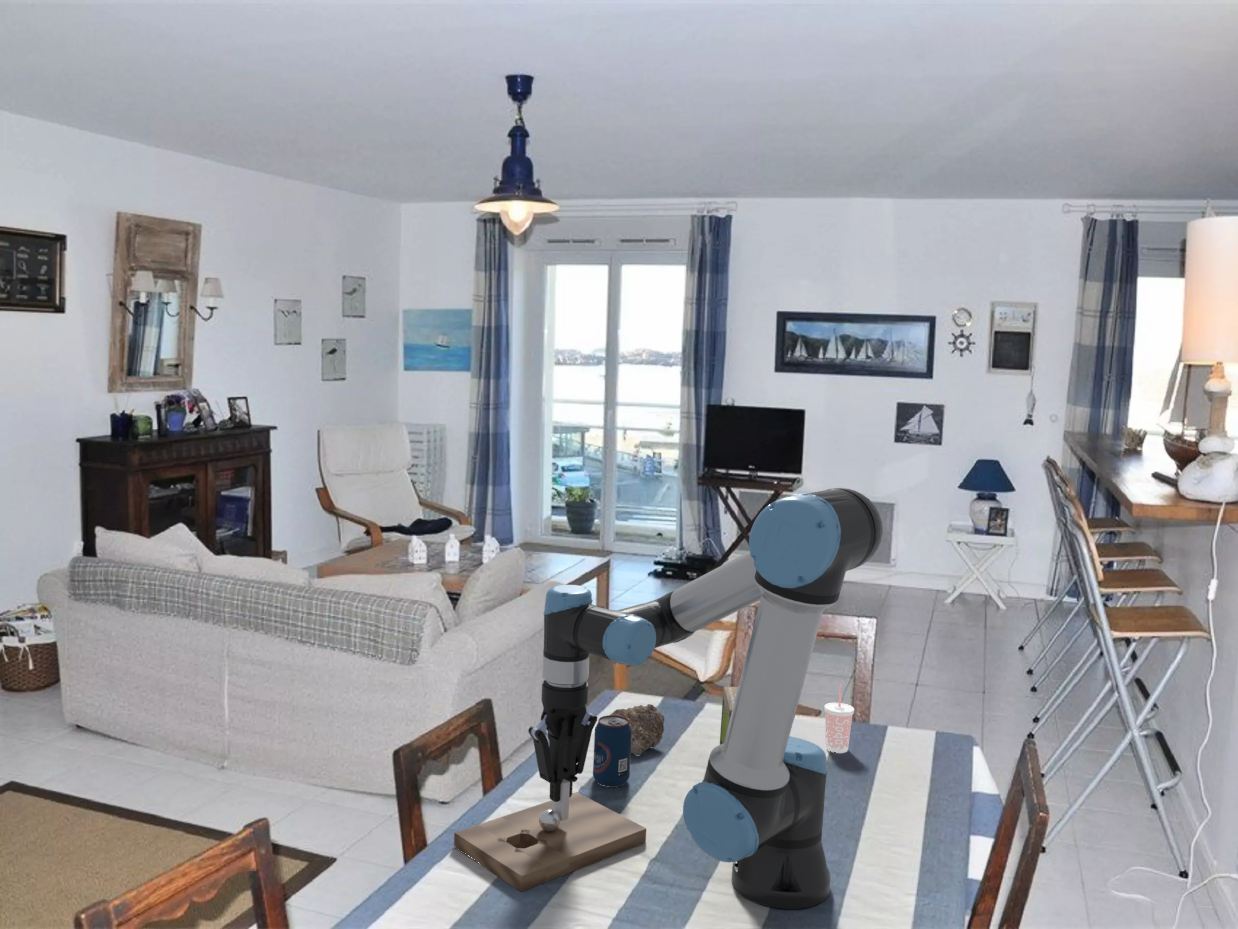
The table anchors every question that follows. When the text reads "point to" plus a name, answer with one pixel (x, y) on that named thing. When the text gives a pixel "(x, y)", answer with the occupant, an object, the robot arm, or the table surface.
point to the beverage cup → (838, 725)
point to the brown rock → (643, 726)
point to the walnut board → (548, 842)
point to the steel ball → (549, 820)
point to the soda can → (612, 751)
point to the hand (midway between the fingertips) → (559, 817)
